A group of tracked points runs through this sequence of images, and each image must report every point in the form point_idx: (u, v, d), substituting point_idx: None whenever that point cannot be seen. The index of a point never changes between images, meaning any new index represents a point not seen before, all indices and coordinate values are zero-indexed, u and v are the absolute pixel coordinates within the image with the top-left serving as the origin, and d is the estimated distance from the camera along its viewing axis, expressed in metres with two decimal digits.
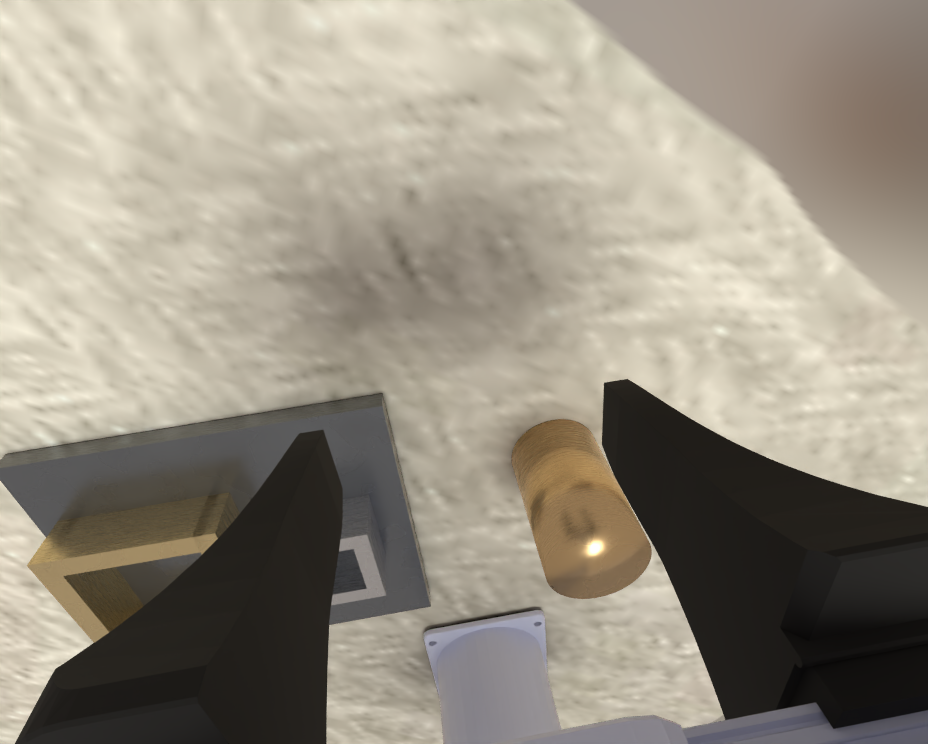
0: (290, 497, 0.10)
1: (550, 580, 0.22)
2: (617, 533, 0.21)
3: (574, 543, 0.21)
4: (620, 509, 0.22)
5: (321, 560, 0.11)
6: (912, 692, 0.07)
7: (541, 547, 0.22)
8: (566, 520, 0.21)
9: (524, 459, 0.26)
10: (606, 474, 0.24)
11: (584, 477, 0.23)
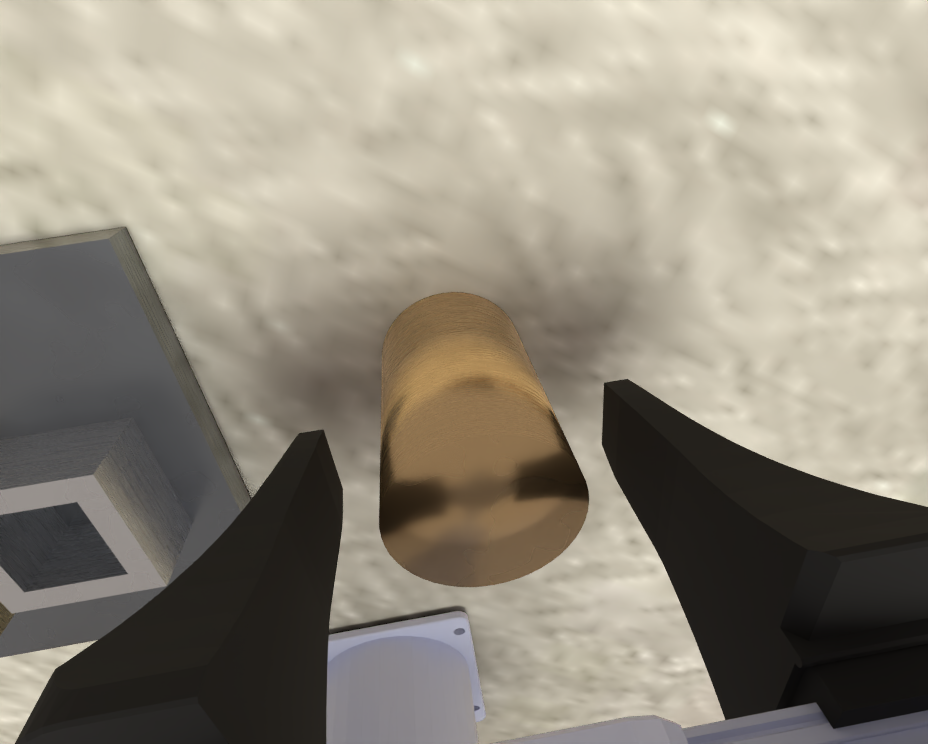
0: (290, 497, 0.10)
1: (395, 549, 0.11)
2: (513, 450, 0.10)
3: (426, 470, 0.10)
4: (526, 411, 0.11)
5: (321, 560, 0.11)
6: (912, 692, 0.07)
7: None
8: (419, 430, 0.11)
9: (389, 353, 0.15)
10: (515, 362, 0.13)
11: (470, 362, 0.12)
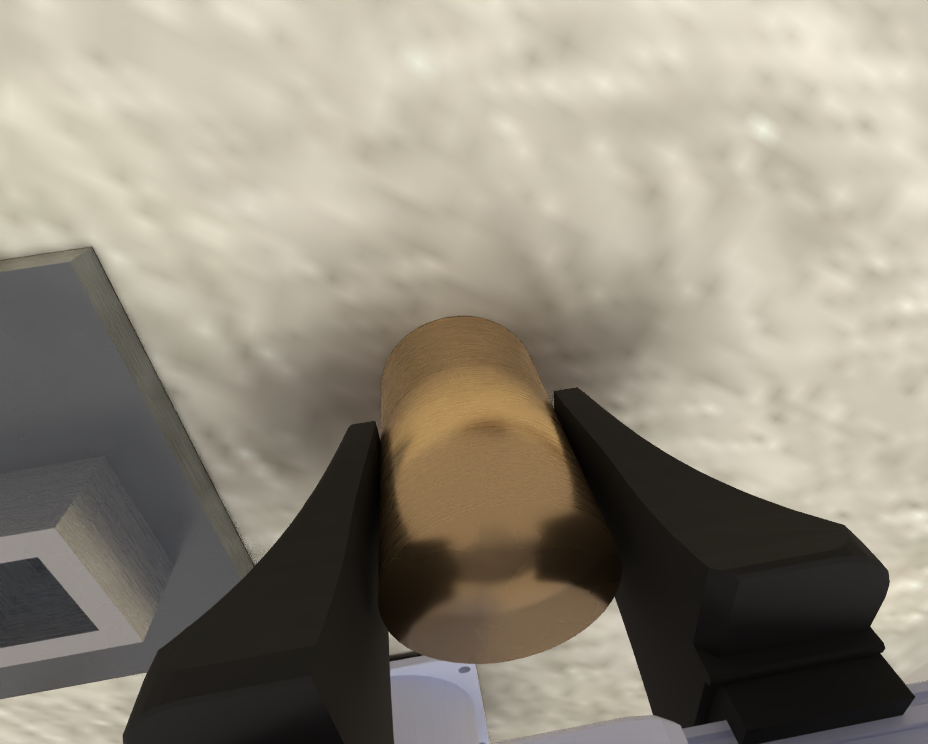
0: (356, 486, 0.10)
1: (396, 628, 0.10)
2: (537, 521, 0.09)
3: (433, 544, 0.09)
4: (550, 468, 0.09)
5: None
6: (817, 711, 0.07)
7: None
8: (424, 492, 0.09)
9: (389, 386, 0.14)
10: (533, 402, 0.11)
11: (483, 406, 0.11)
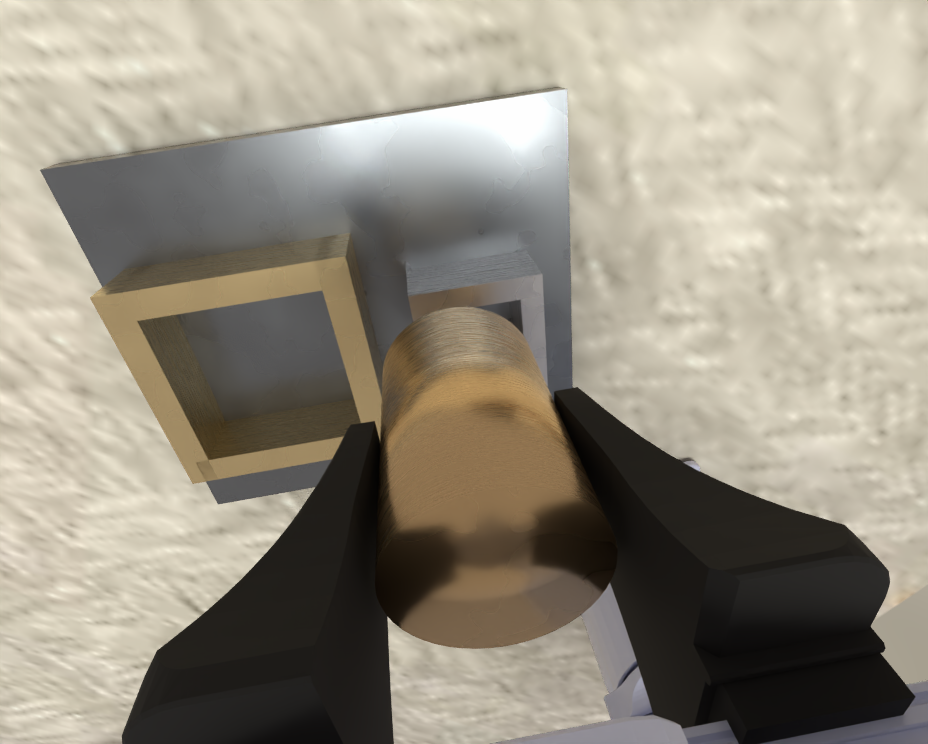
0: (355, 486, 0.10)
1: (392, 609, 0.10)
2: (535, 505, 0.09)
3: (432, 525, 0.09)
4: (549, 454, 0.10)
5: None
6: (817, 711, 0.07)
7: (377, 536, 0.10)
8: (424, 474, 0.09)
9: (390, 373, 0.14)
10: (533, 392, 0.12)
11: (484, 392, 0.11)
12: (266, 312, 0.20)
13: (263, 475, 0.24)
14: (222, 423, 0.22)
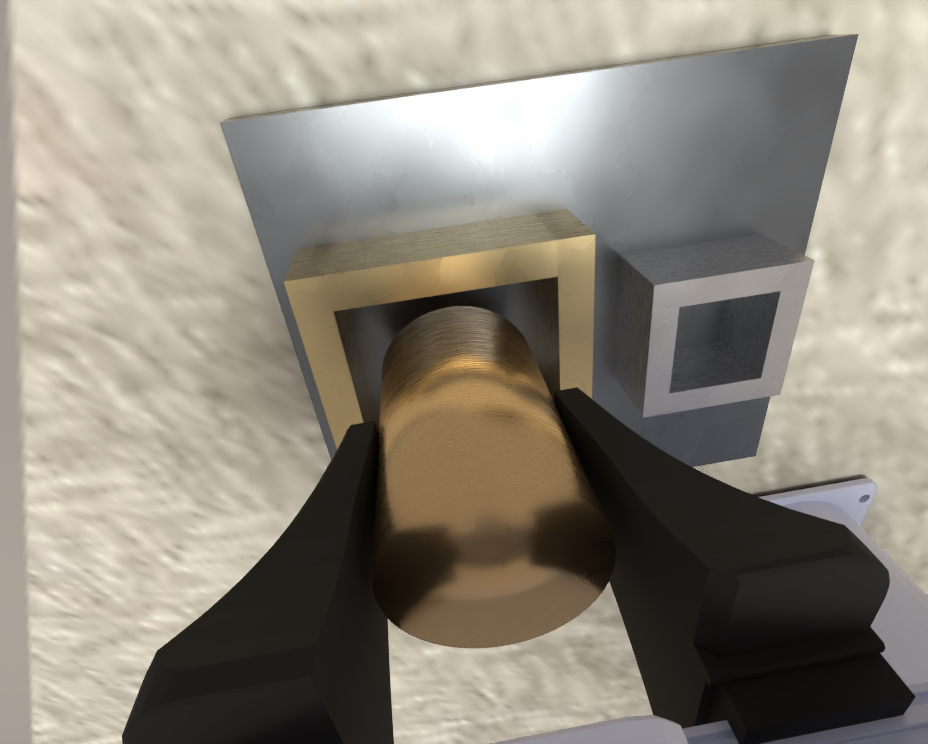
0: (355, 486, 0.10)
1: (390, 608, 0.10)
2: (534, 504, 0.09)
3: (430, 524, 0.09)
4: (548, 455, 0.10)
5: None
6: (818, 711, 0.07)
7: (374, 535, 0.10)
8: (423, 474, 0.09)
9: (389, 372, 0.14)
10: (532, 391, 0.12)
11: (482, 391, 0.11)
12: (451, 304, 0.17)
13: None
14: None
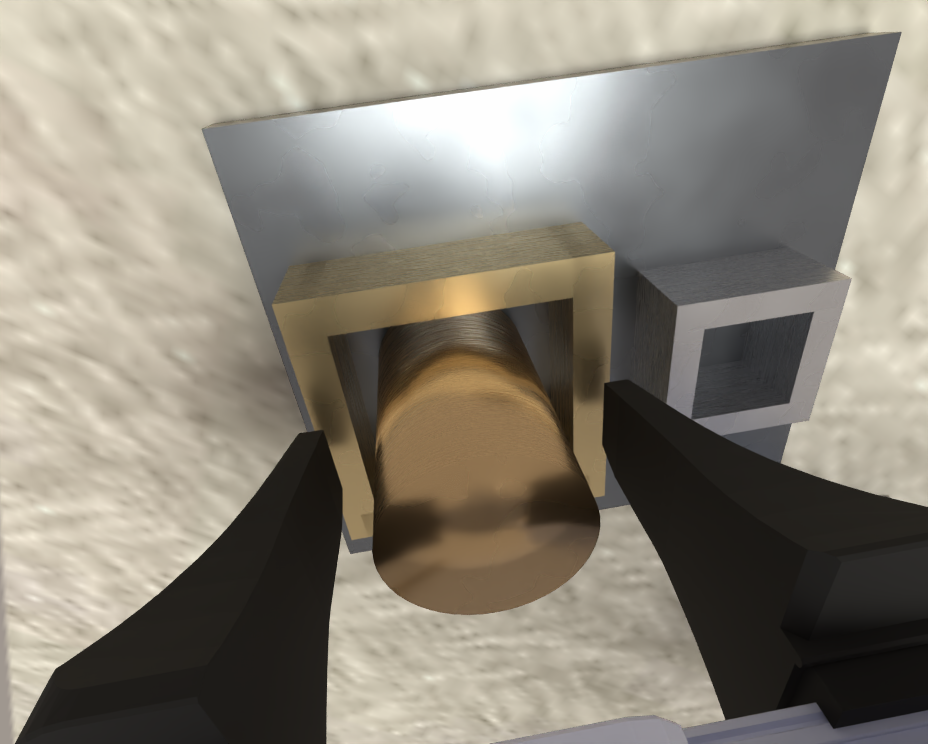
0: (290, 497, 0.10)
1: (388, 574, 0.10)
2: (523, 472, 0.09)
3: (426, 491, 0.09)
4: (536, 428, 0.10)
5: (321, 560, 0.11)
6: (912, 692, 0.07)
7: (374, 507, 0.11)
8: (418, 446, 0.10)
9: (386, 358, 0.14)
10: (522, 373, 0.12)
11: (475, 372, 0.11)
12: None
13: None
14: None
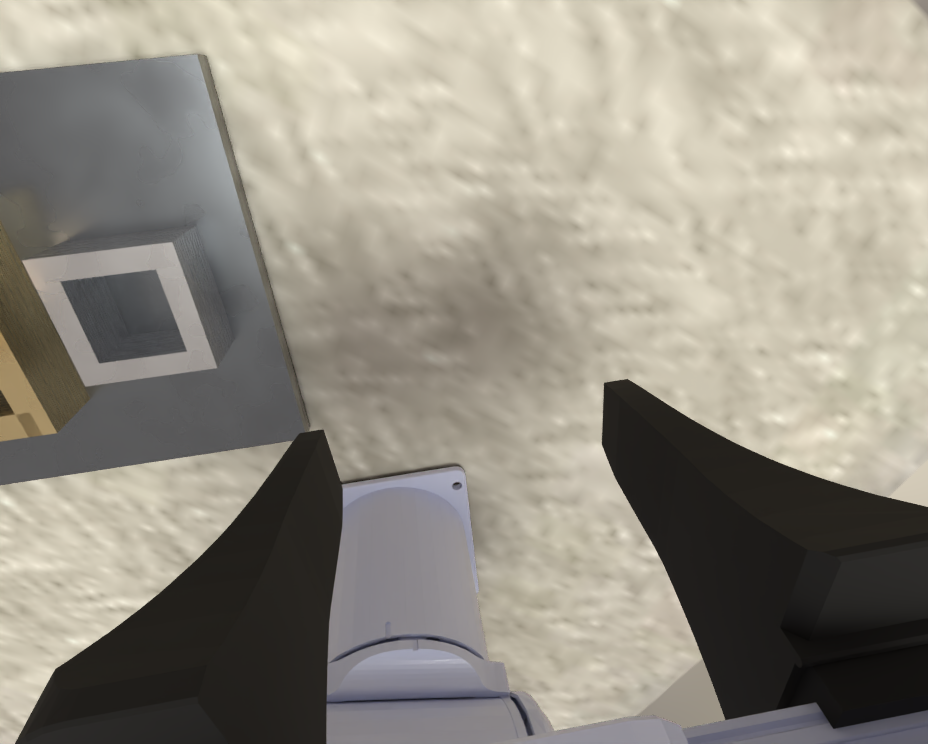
0: (290, 497, 0.10)
1: None
2: None
3: None
4: None
5: (321, 560, 0.11)
6: (912, 692, 0.07)
7: None
8: None
9: None
10: None
11: None
12: None
13: None
14: None
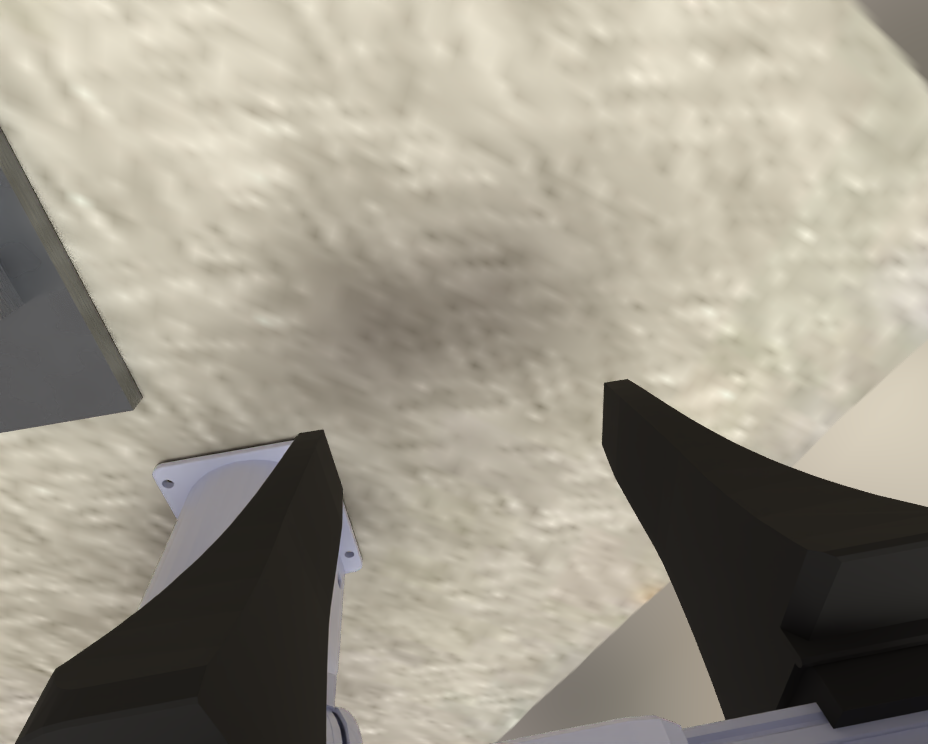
0: (290, 497, 0.10)
1: None
2: None
3: None
4: None
5: (321, 560, 0.11)
6: (912, 693, 0.07)
7: None
8: None
9: None
10: None
11: None
12: None
13: None
14: None
